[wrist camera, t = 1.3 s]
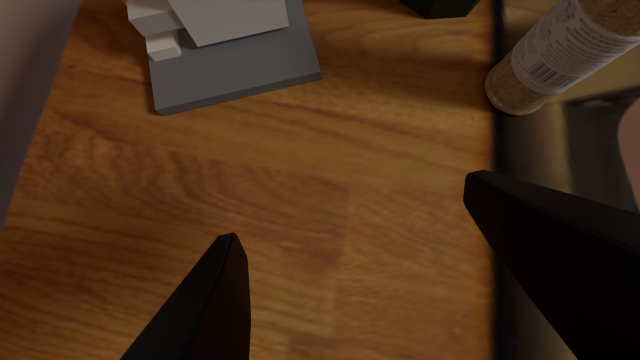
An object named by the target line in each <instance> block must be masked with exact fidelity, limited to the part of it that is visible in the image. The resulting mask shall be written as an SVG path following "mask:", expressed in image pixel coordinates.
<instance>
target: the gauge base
mask: <svg viewBox="0 0 640 360" xmlns="http://www.w3.org/2000/svg"><path fill="white" fill-rule="evenodd" d="M285 5H286V11H287V17H288V23H289V26H288V27H283V28H279V29H275V30H270V31H266V32H261V33H257V34H252V35H248V36H244V37H239V38H235V39H230V40H226V41H222V42H217V43H213V44H208V45H204V46H200V47H198V46H197V45H196V43H195V42H194V40H193V39H192V37H191V35H190V34H189V32H188V31H187V29H186V28H185V27H184V28H179V29H175V30H170V31H166V32H161V33H157V34H153V35H148V36H145V38H146V46H147V53H148V60H149V67H150V75H151V82H152V89H153V97H154V104H155V110H156V111H157V112H158V113H160V114H161V115H162V116H165V115H169V114H174V113H178V112H182V111H186V110H191V109H195V108H199V107H204V106H208V105H212V104H216V103H221V102H225V101H229V100H233V99H238V98H242V97H246V96H250V95H255V94H259V93H263V92H267V91H272V90H276V89H280V88H285V87H289V86H293V85H297V84H302V83H306V82H310V81H314V80H319V79H321V69H320V65H319V62H318V58H317V55H316V51H315V48H314V44H313V40H312V37H311V33H310V30H309V26H308V23H307V19H306V15H305V12H304V8H303V5H302V1H301V0H285Z"/></svg>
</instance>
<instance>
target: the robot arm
mask: <svg viewBox="0 0 640 360" xmlns="http://www.w3.org/2000/svg"><path fill="white" fill-rule="evenodd" d="M463 201H464V205H465V207H466V209H467V210H468V212H469V213H470V215H471V217H472V218H473V220H474V221H475V223H476V225H477V226H478V228H479V229H480V231H481V232H482V234H483V236H484V237H485V239H486V240H487V242H488V244H489V245H490V247H491V248H492V250H493V251H494V253H495V254H496V256H497V257H498V258H499V260H500V261H501V262H502V264H503V265H504V266H505V267H506V269H507V270H508V271H509V272H510V274H511V275H512V276H513V278H514V279H515V280H516V281H517V283H518V284H519V285H520V286H521V288H522V289H523V290H524V292H525V293H526V294H527V295H528V297H529V298H530V299H531V300H532V302H533V303H534V304H535V306H536V307H537V308H538V309H539V311H540V312H541V313H542V314H543V316H544V317H545V318H546V320H547V321H548V322H549V323H550V325H551V326H552V327H553V328H554V330H555V331H556V332H557V334H558V335H559V336H560V337H561V339H562V340H563V341H564V342H565V344H566V345H567V346H568V348H569V349H570V350H571V351H572V353H573V354H574V355H575V356H576V358H577V359H578V360H640V213H636V212H633V211H629V210H625V209H622V208H618V207H615V206H611V205H608V204H604V203H600V202H597V201H593V200H590V199H586V198H583V197H579V196H575V195H572V194H568V193H565V192H561V191H558V190H554V189H551V188H547V187H543V186H540V185H536V184H533V183H529V182H526V181H522V180H519V179H515V178H511V177H508V176H504V175H501V174H497V173H494V172H490V171H486V170H479V171H475V172H471V173H469V174H467V176H466V178H465V186H464V195H463ZM250 333H251V306H250V290H249V273H248V260H247V256H246V253H245V251H244V249H243V247H242V245H241V243H240V240H239V238H238V236H237V235H236V234H235V233H228V234H224V235H220V236H218V237H217V238H216V240H215V241H214V242H213V243H212V245H211V246H210V247H209V248H208V250H207V251H206V252H205V253H204V255H203V256H202V257H201V258H200V260H199V261H198V262H197V263H196V265H195V266H194V267H193V268H192V270H191V271H190V272H189V273H188V275H187V276H186V277H185V278H184V280H183V281H182V282H181V283H180V285H179V286H178V287H177V288H176V290H175V291H174V292H173V293H172V295H171V296H170V297H169V298H168V300H167V301H166V302H165V303H164V305H163V306H162V307H161V308H160V310H159V311H158V312H157V313H156V315H155V316H154V317H153V318H152V320H151V321H150V322H149V323H148V325H147V326H146V327H145V328H144V330H143V331H142V332H141V333H140V335H139V336H138V337H137V338H136V340H135V341H134V342H133V343H132V345H131V346H130V347H129V348H128V350H127V351H126V352H125V353H124V355H123V356H122V357H121V358H120V360H249V351H250Z"/></svg>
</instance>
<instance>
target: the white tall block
mask: <svg viewBox="0 0 640 360" xmlns="http://www.w3.org/2000/svg"><path fill="white" fill-rule="evenodd" d="M126 2H127V10H128V19H129V21H130V22H131V23H132V24H133V25H134V27H135V28H136V29H137V30H138V31H139V32H140V33H141V35H142V36H143V37H144V36H148V35H153V34H157V33H161V32H166V31H170V30H175V29H179V28H184V27H185V28H186V29H187V31H188V32H189V34H190V35H191V37H192V39H193V40H194V42H195V43H196V45H197V46H198V47H200V46H204V45H208V44H213V43H217V42H222V41H226V40H230V39H235V38H239V37H244V36H248V35H252V34H257V33H261V32H266V31H270V30H275V29H279V28H283V27H288V26H289V23H288V17H287V11H286V5H285V0H128V1H126Z"/></svg>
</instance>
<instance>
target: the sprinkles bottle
mask: <svg viewBox="0 0 640 360" xmlns="http://www.w3.org/2000/svg"><path fill="white" fill-rule="evenodd" d="M638 44H640V0H559V1H558V2H557V3H556V4H555V5H554V6H553V7H552V8H551V9H550V10H549V11H548V12H547V13H546V14H545V15H544V16H543V17H542V18H541V19H540V20H539V21H538V22H537V23H536V24H535V25H534V26H533V27H532V28H531V29H530V30H529V32H528V33H527V34H526V35H525V36H524V37H523V38H522V39H521V40H520V41H519V42H518V43H517V44H516V46H515V47H514V49H513V50H512V51H511V52H510V53H508V54H507V56H506V57H505V58H504V59H503V60H502V61H501V62H500V63H499V64H497V65H495V66H494V67H493V68H492V69H491V71H489V73H488V75H487V77H486V79H485V85H484V86H485V92H486V94H487V97H488V99H489V100H490V102H491V103H492V104H493V105H494V106H495V107H496V108H497V109H499V110H501V111H503V112H505V113H507V114H511V115H526V114H529V113H532V112H534V111H536V110H537V109H539V108H540V107H541V106H542V105H543V103H545V102H546V101H548V100H550V99H551V98H553V97H554V96H556V95H558V94H559V93H561V92H563V91H565V90H567V89H568V88H570V87H571V86H573V85H575V84H576V83H578V82H579V81H581V80H582V79H584V78H586V77H587V76H589V75H590V74H592V73H594V72H595V71H597V70H598V69H600V68H602V67H603V66H605V65H606V64H608V63H610V62H611V61H613V60H614V59H616V58H617V57H619V56H621V55H622V54H624V53H625V52H627V51H628V50H630V49H632V48H633V47H635V46H636V45H638Z"/></svg>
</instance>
